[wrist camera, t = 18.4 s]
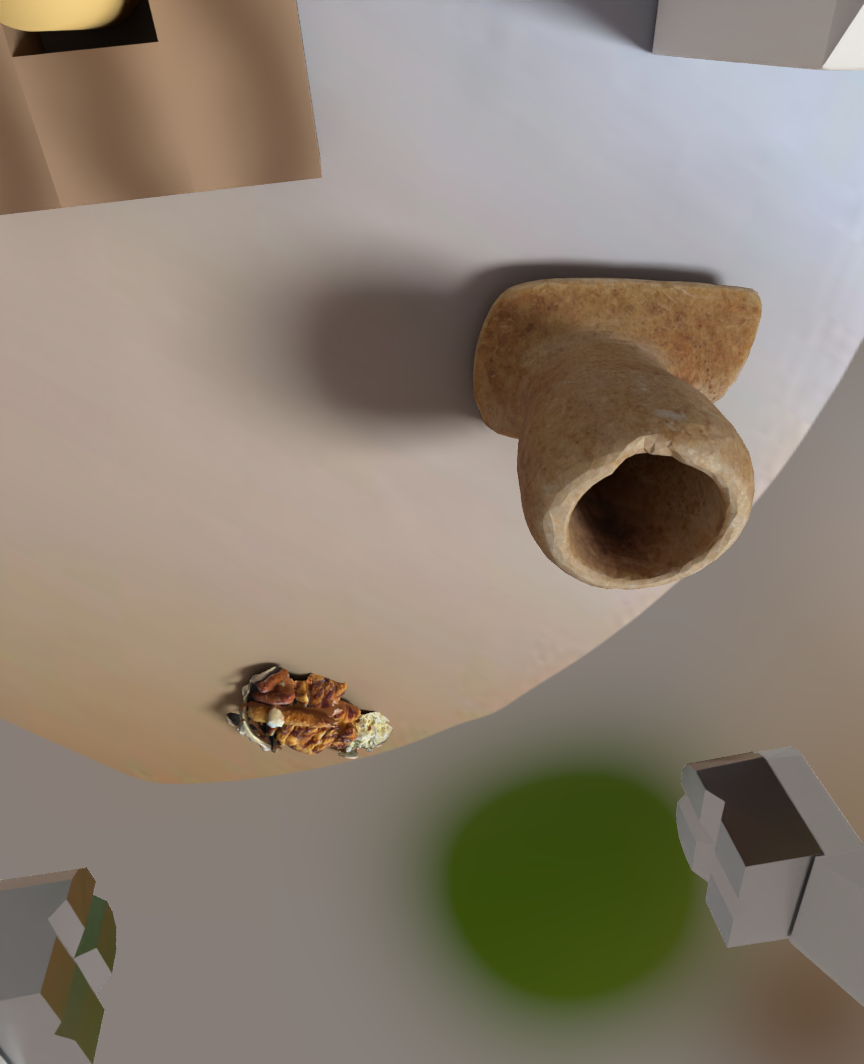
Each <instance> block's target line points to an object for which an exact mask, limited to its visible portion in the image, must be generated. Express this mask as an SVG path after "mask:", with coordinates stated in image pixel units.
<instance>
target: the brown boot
mask: <svg viewBox="0 0 864 1064" xmlns="http://www.w3.org/2000/svg"><path fill="white" fill-rule="evenodd" d="M761 312H762V304H761V300H760V297H759V295H758V293H757V292H756V291H755V290H753V289H750V288H743V287H737V286H727V285H713V284H710V283H698V282H683V281H655V280H643V279H626V278H552V279H542V280H536V281H530V282H525V283H521V284H518V285H515V286H512V287H509V288H508V289H507V290H506V291H504V292H503V293H502V294H501V295H500V296H499V297H498V298H497V299H496V300H495V302H494V304H493V305H492V307H491V309H490V310H489V312H488V314H487V317H486V319H485V321H484V323H483V326H482V329H481V332H480V335H479V338H478V342H477V345H476V349H475V356H474V367H473V392H474V399H475V402H476V404H477V406H478V408H479V410H480V412H481V417H482V419H483V421H484V423H485V424H486V425H487V426H488V427H489V428H490V429H492V430H493V431H495V432H496V433H498V434H501V435H504V436H508V437H511V438H516V439H519V443H518V456H517V472H518V479H519V486H520V493H521V501H522V507H523V512H524V516H525V519H526V523H527V525H528V528H529V530H530V532H531V534H532V536H533V538H534V540H535V541H536V543H537V544H538V546H539V547H540V548H541V550H542V551H543V553H544V554H545V555H546V556H547V558H548V559H549V560H551V561H552V562H553V563H554V564H555V565H557V566H558V567H559V568H560V569H562V570H563V571H564V572H565V573H567V574H569V575H571V576H572V577H574V578H576V579H578V580H579V581H582V582H584V583H586V584H589V585H591V586H596V587H600V588H605V589H613V588H617V589H640V588H647V587H653V586H658V585H664V584H667V583H670V582H673V581H676V580H679V579H682V578H684V577H687V576H689V575H691V574H694V573H696V572H697V571H699V570H701V569H703V568H704V567H705V566H707V565H708V564H709V563H711V562H713V561H715V560H716V559H717V558H718V557H719V556H721V554H723V553H724V552H725V551H726V550H727V549H728V548H729V547H731V546H732V544H733V543H734V542H735V541H736V539H737V538H738V537H739V535H740V533H741V531H742V530H743V528H744V526H745V524H746V523H747V521H748V519H749V515H750V511H751V506H752V501H753V496H754V471H753V467H752V462H751V458H750V454H749V451H748V450H747V448H746V446H745V444H744V442H743V440H742V439H741V437H740V436H739V434H738V433H737V431H736V429H735V428H734V426H733V425H732V424H731V423H730V422H729V421H728V420H727V419H726V418H725V417H724V416H723V415H722V414H721V412H720V411H719V410H718V409H717V407H716V406H715V405H714V404H713V403H714V402H716V401H717V400H719V399H720V398H721V397H723V396H724V394H725V393H726V391H727V390H728V388H729V387H730V386H731V385H732V384H733V383H734V382H735V381H736V379H737V377H738V375H739V373H740V371H741V369H742V368H743V366H744V364H745V362H746V360H747V358H748V356H749V353H750V349H751V347H752V344H753V342H754V340H755V337H756V333H757V330H758V326H759V322H760V318H761Z"/></svg>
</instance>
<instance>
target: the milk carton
mask: <svg viewBox="0 0 864 1064" xmlns="http://www.w3.org/2000/svg"><path fill="white" fill-rule="evenodd" d="M652 52H653V54H654V55H663V56H673V57H684V58H695V59H706V60H716V61H727V62H738V63H749V64H760V65H770V66H781V67H792V68H803V69H815V70H837V71H851V70H864V0H659V2H658V10H657V18H656V26H655V34H654V42H653V51H652Z"/></svg>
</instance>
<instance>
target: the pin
mask: <svg viewBox="0 0 864 1064" xmlns="http://www.w3.org/2000/svg"><path fill="white" fill-rule="evenodd" d="M138 3H139V0H0V23H2V24H4V25H6V26H9V27H11V28H14V29H18V30H23V31H59V30H86V29H107V28H112V27H115V26H118V25H120V24H121V23H123V22H125V21H126V20H127V19H128V18H129V17H130V16H131V15H132V14H133V12H134V11H135V9H136V7H137V5H138Z"/></svg>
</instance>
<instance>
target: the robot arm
mask: <svg viewBox="0 0 864 1064" xmlns="http://www.w3.org/2000/svg"><path fill="white" fill-rule="evenodd" d="M681 784H682V786H683V788H684V790H685V792H686V794H685V795H684V796H683V797H682V799H680V800H679V802H678V804H677V816H676V820H677V826H678V833H679V838H680V841H681V844H682V847H683V851H684V854H685V856H686V858H687V860H688V862H689V865H690V867H691V870H692V871H694V872H695V873H696V874H698V875H699V876H700V877H702V878H703V879H704V880H706V881H707V882H708V883H709V884H708V890H707V896H706V903H707V905H708V907H709V909H710V911H711V913H712V916H713V918H714V920H715V922H716V924H717V926H718V928H719V931H720V933H721V935H722V937H723V939H724V941H725V944H726V946H727V948H729V947H734V946H735V947H736V946H742V945H748V944H754V943H761V942H768V941H774V940H781V939H787V938H790V941H789V942H790V943H791V944H792V945H794V946H795V947H796V948H797V949H798V950H799V951H800V952H802V953H803V954H804V955H805V956H806V957H808V959H810V960H811V961H812V962H813V963H814V964H815V965H817V966H818V967H819V968H820V969H821V970H822V971H823V972H825V973H826V974H827V975H828V976H829V977H830V978H832V979H833V980H834V981H835V982H836V983H837V984H838V985H839V986H840V987H842V988H843V989H844V990H845V991H846V992H847V993H849V994H850V995H851V996H852V997H853V998H854V999H855V1000H856V1001H858V1002H859V1003H860V1004H861V1005H862V1006H863V1007H864V844H863V843H862V841H861V840H860V838H859V837H858V835H857V834H856V833H855V831H854V830H853V828H852V827H851V825H850V824H849V822H848V821H847V819H846V818H845V817H844V815H843V814H842V812H841V811H840V810H839V808H838V806H837V805H836V803H835V802H834V801H833V799H832V798H831V796H830V795H829V793H828V792H827V790H826V789H825V787H824V786H823V785H822V783H821V782H820V780H819V779H818V777H817V776H816V774H815V773H814V771H813V770H812V769H811V767H810V766H809V764H808V763H807V761H806V760H805V758H804V757H803V755H802V754H801V752H799V751H798V750H796V749H795V748H794V747H782V748H777V749H771V750H766V751H761V752H757V753H754V752H749V753H743V754H738V755H732V756H727V757H722V758H716V759H711V760H706V761H700V762H696V763H690V764H687V765H686V766H685V767H684V768H683V769H682V775H681ZM95 884H96V881H95V879H94V878H93V876H92V875H91V873H90V871H89V870H88V869H87V867H85V868H79V869H72V870H66V871H59V872H53V873H46V874H39V875H32V876H26V877H20V878H12V879H4V880H0V1064H93V1062H94V1058H95V1053H96V1048H97V1043H98V1038H99V1034H100V1029H101V1024H102V1019H103V1015H104V1008H103V1006H102V1004H101V1002H100V1000H99V998H98V996H97V995H96V993H97V992H98V991H99V990H100V988H101V987H102V986H103V985H104V983H105V982H106V981H107V979H108V978H109V977H110V976H111V974H112V971H113V966H114V960H115V955H116V924H115V920H114V915H113V911H112V910H111V908H110V906H109V904H108V902H107V901H106V900H104V899H101V898H99V897H97V896H95V895H93V892H94V888H95Z"/></svg>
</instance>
